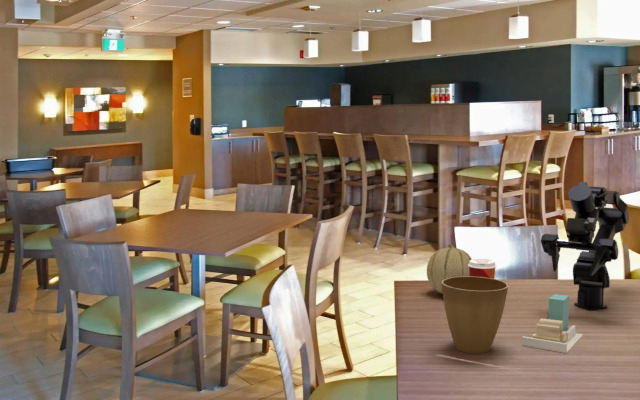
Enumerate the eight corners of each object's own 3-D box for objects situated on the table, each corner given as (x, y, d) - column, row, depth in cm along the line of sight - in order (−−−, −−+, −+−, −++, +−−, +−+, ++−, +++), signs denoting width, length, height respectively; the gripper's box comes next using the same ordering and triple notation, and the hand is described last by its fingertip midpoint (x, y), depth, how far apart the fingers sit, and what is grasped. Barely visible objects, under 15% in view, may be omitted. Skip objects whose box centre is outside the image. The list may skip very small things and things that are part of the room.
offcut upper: (540, 328, 167) (540, 318, 167) (562, 331, 165) (562, 320, 165) (536, 335, 162) (536, 325, 162) (558, 338, 160) (559, 327, 160)
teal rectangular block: (553, 331, 173) (554, 294, 172) (567, 333, 171) (568, 295, 170) (547, 336, 169) (549, 298, 168) (562, 339, 167) (563, 300, 166)
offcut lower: (540, 337, 169) (540, 327, 168) (566, 341, 165) (566, 331, 165) (531, 345, 163) (532, 335, 162) (558, 350, 159) (558, 339, 159)
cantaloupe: (437, 302, 203) (438, 252, 202) (419, 290, 218) (419, 243, 216) (484, 299, 207) (485, 249, 205) (462, 287, 221) (463, 240, 219)
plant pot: (494, 365, 152) (496, 293, 150) (430, 354, 159) (431, 285, 158) (514, 346, 164) (516, 279, 162) (454, 336, 172) (455, 272, 170)
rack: (541, 330, 176) (542, 320, 176) (583, 336, 171) (583, 326, 170) (521, 347, 163) (522, 336, 163) (565, 355, 158) (566, 344, 157)
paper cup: (496, 314, 190) (497, 264, 189) (467, 313, 192) (468, 263, 190) (494, 307, 198) (495, 258, 196) (467, 305, 200) (467, 257, 198)
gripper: (543, 203, 187) (529, 251, 179) (618, 208, 177) (606, 258, 169) (551, 228, 195) (538, 275, 187) (622, 234, 184) (612, 283, 176)
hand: (572, 272), depth 180 cm, fingers open, 9 cm apart
